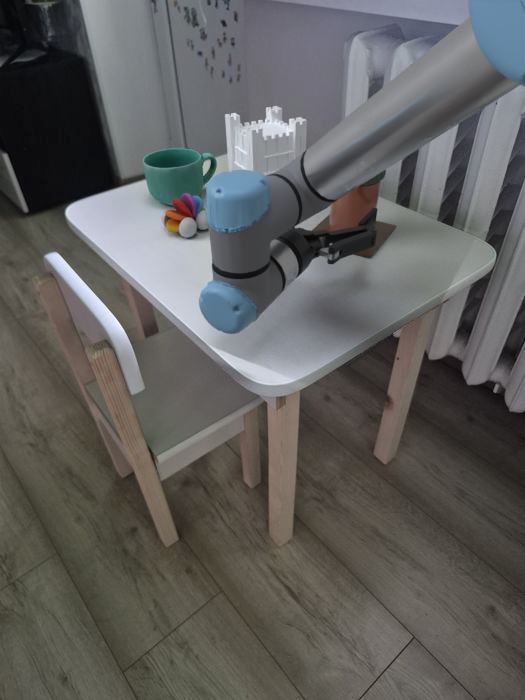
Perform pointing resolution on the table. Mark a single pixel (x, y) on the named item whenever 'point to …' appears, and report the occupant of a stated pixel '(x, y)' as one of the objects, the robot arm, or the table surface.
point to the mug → (176, 173)
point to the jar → (353, 206)
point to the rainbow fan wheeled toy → (186, 215)
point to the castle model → (264, 142)
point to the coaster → (380, 227)
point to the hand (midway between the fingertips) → (338, 207)
